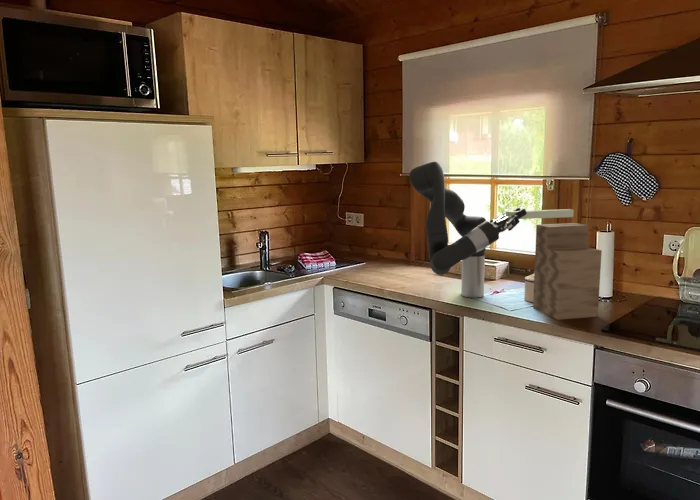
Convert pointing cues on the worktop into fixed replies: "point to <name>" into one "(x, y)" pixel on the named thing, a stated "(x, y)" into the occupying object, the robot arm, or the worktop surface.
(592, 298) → the brown wooden tall block
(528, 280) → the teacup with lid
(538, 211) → the sage slat
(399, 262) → the worktop surface
